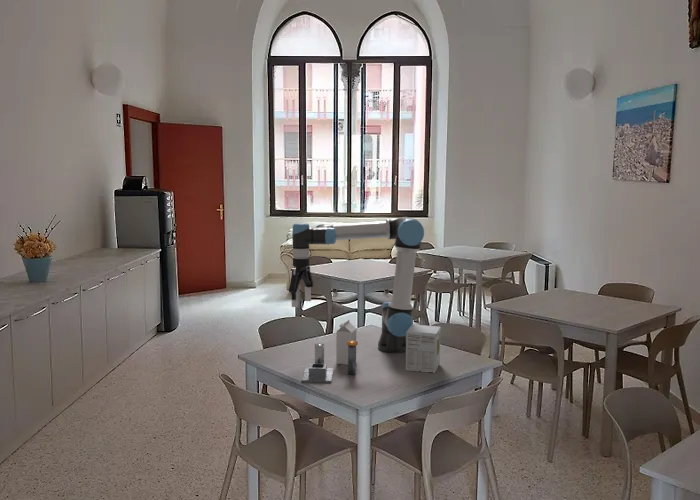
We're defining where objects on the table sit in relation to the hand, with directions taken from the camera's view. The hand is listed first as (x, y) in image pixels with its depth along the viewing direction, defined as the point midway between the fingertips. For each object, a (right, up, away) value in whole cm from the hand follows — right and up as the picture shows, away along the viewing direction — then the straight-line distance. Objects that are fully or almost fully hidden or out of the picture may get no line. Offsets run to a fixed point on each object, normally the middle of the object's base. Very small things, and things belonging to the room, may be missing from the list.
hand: (301, 303), depth 284 cm
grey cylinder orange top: (+23, -28, -19) cm, 41 cm away
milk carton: (+20, -26, -3) cm, 33 cm away
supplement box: (+54, -27, -9) cm, 61 cm away
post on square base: (+9, -29, -22) cm, 37 cm away
